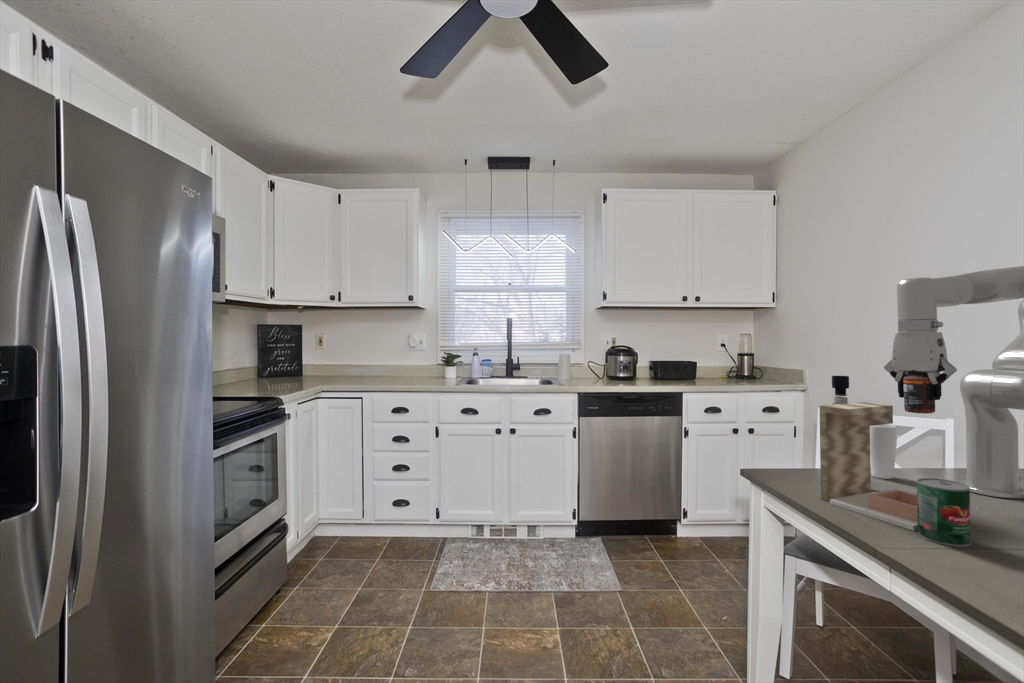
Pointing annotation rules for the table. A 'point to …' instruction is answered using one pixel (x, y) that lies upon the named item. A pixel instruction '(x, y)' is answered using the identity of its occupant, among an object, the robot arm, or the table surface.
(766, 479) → the table surface
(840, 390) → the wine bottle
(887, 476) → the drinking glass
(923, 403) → the supplement bottle
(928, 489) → the canned tomato
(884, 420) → the wood grain block
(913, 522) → the socket
